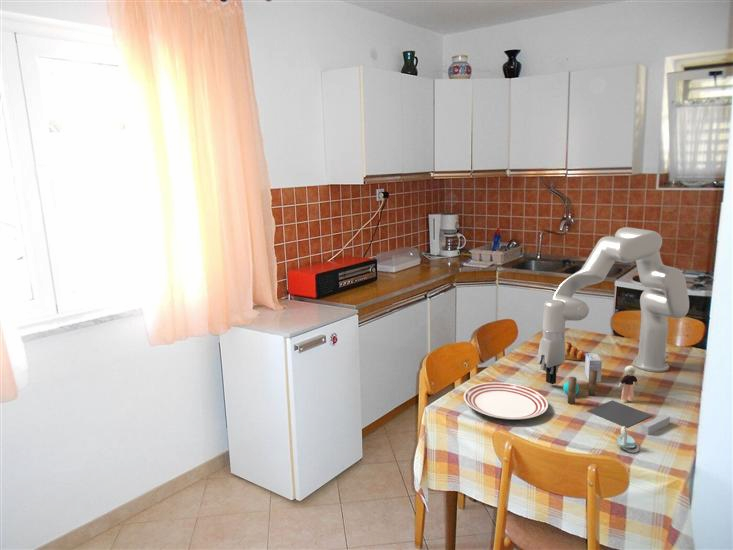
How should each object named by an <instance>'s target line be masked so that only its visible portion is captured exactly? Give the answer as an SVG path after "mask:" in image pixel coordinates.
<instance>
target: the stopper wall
mask: <svg viewBox="0 0 733 550" xmlns="http://www.w3.org/2000/svg"><path fill="white" fill-rule="evenodd" d="M670 421H671V416H670V415H667V414H666V413H663V414H661V415H658V416H657V417H655V418H653V419H651V420H648V421H647V422H644V423H641V424H642V425H641V430H640V431H641V432H640V433H642V432H643V433H642V434H645V435H647V434H648V435H650V434H653V433H655V432H657V430H661V429H662V428H664V427H666V426H668V425H670V424H671V423H670Z"/></svg>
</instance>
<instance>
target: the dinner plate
mask: <svg viewBox="0 0 733 550" xmlns="http://www.w3.org/2000/svg"><path fill="white" fill-rule="evenodd" d="M463 400H464V402H465V403H466V404H467V406H469V407H470V408H471V409H473V410H474V411H476V412H477V413H480V414H483V415H486V416H489V417H491V418H496V419H502V420H526V419H532V418H535V417H539V416H541V415H542V414H544V413H545V412H547V410H548V409H549V403H548V401H547V398H546V397H544V395H542V394H541V393H540V392H538V391H536V390H534V389H532V388H529V387H526V386H523V385H519V384H514V383H510V382H500V381H499V382H494V381H492V382H484V383H482V382H481V383H479V384H476V385H472V386H471V387H469V388H468V389H466V390H465V391H464V393H463Z"/></svg>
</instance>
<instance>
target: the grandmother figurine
mask: <svg viewBox="0 0 733 550" xmlns="http://www.w3.org/2000/svg"><path fill="white" fill-rule="evenodd" d="M635 372H636V367H635V366H634V365H627V366H625V367H624V373H626V374H625V375H624V376H623V377H622V379H621V380H620V381H619V384H618V386H617V387H618V388H619V389H621V388H622V389H621V390H622V391H621V397H620V398H621V399H619V401H620V402H621V404H628V403H633V402H634V395H635V394H634V385H639V381H638V378H637V377H636V376H635ZM622 386H623V387H622Z"/></svg>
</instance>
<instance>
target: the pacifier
mask: <svg viewBox="0 0 733 550" xmlns="http://www.w3.org/2000/svg"><path fill="white" fill-rule="evenodd" d="M627 431H628V430H627V428H626V427H625V426H621V429H620V434H619V435H618V436H617V438H616V439H617V443H615V445H616V446H618V447H620V448H621V449H622V450H624V449H625V452H629V453H631V452H632V453H638V452H639V451H640V449H641V448H640V445H639V444H638V443H636V441H635V439H634V438H633V437H632V436H631V435H629V434H628V432H627ZM633 448H634V449H633Z"/></svg>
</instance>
